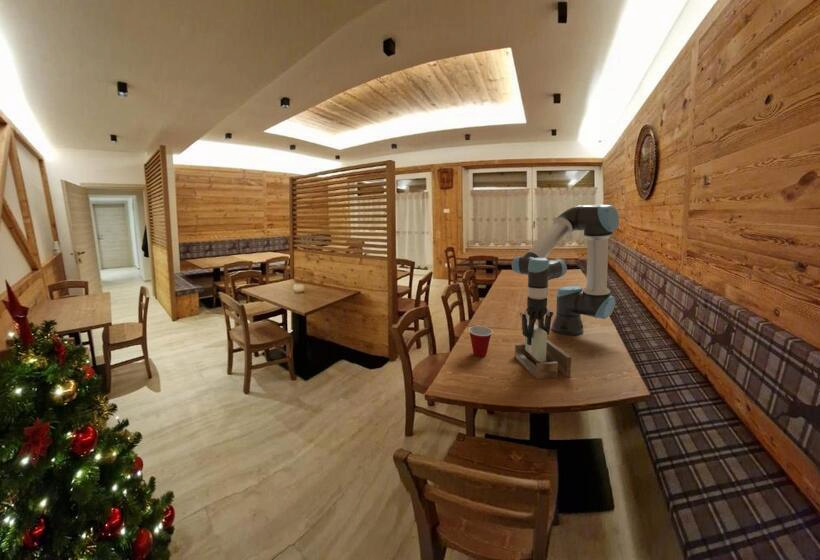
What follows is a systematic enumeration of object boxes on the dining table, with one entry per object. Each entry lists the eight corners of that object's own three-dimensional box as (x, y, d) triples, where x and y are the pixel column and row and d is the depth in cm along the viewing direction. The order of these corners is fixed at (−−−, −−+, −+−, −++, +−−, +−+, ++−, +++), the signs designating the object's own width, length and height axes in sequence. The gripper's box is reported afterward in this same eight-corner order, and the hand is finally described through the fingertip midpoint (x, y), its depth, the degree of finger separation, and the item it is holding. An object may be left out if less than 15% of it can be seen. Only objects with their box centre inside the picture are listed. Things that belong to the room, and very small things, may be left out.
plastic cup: (486, 361, 151) (486, 335, 148) (464, 356, 157) (464, 331, 154) (496, 352, 159) (496, 328, 156) (474, 347, 165) (474, 324, 163)
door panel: (531, 348, 149) (532, 322, 147) (545, 360, 138) (547, 332, 135) (525, 349, 149) (525, 323, 147) (538, 361, 137) (539, 333, 135)
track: (542, 353, 156) (543, 336, 154) (570, 376, 135) (571, 357, 133) (514, 356, 155) (514, 339, 153) (537, 379, 134) (538, 360, 132)
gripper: (551, 293, 143) (548, 346, 148) (514, 295, 141) (512, 349, 146) (561, 297, 135) (558, 353, 140) (522, 300, 134) (520, 357, 139)
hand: (535, 351), depth 143 cm, fingers closed on door panel, 3 cm apart
